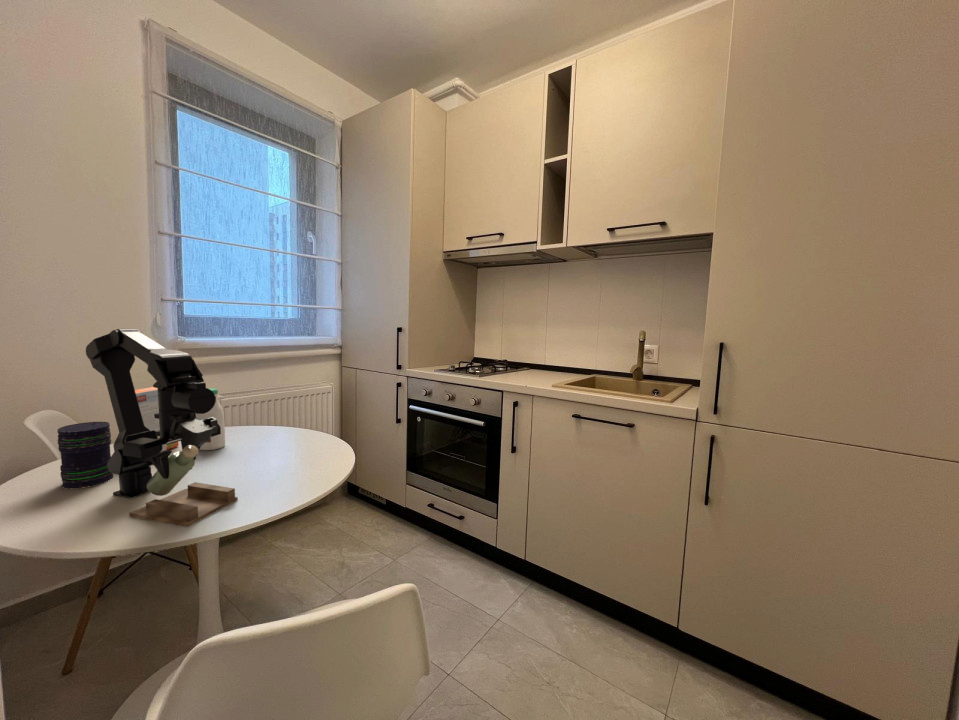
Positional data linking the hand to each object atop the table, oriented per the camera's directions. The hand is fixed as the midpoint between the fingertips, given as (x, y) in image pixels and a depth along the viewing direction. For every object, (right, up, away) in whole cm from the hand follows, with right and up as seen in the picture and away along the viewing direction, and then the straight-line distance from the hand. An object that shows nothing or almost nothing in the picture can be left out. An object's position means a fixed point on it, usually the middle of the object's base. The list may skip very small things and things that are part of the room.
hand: (177, 473), depth 91 cm
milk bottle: (-21, -3, +42) cm, 47 cm away
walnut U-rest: (+1, -8, +1) cm, 8 cm away
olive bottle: (-6, -3, +2) cm, 7 cm away
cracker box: (-36, -4, +35) cm, 50 cm away
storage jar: (-34, -6, +13) cm, 37 cm away
